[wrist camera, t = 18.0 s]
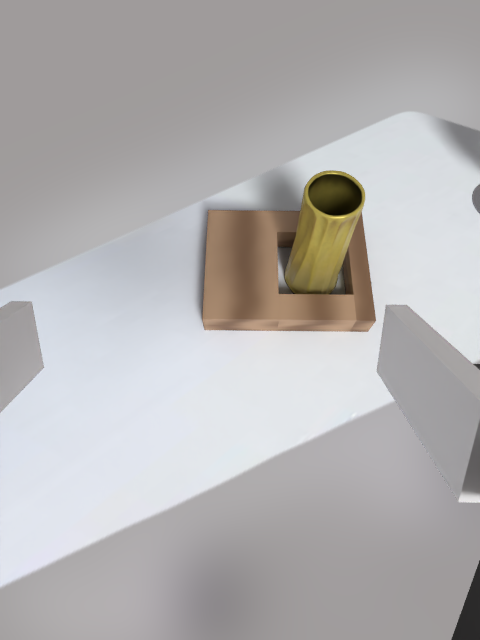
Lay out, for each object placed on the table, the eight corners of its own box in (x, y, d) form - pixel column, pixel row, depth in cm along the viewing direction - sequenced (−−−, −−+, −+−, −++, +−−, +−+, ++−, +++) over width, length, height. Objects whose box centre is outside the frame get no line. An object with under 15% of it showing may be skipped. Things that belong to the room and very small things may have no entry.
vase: (304, 246, 50) (324, 155, 37) (347, 272, 48) (384, 188, 35) (274, 280, 48) (284, 198, 35) (318, 309, 46) (346, 235, 33)
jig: (204, 330, 45) (202, 318, 43) (210, 225, 51) (208, 210, 48) (367, 331, 45) (375, 320, 43) (355, 227, 51) (361, 211, 48)
